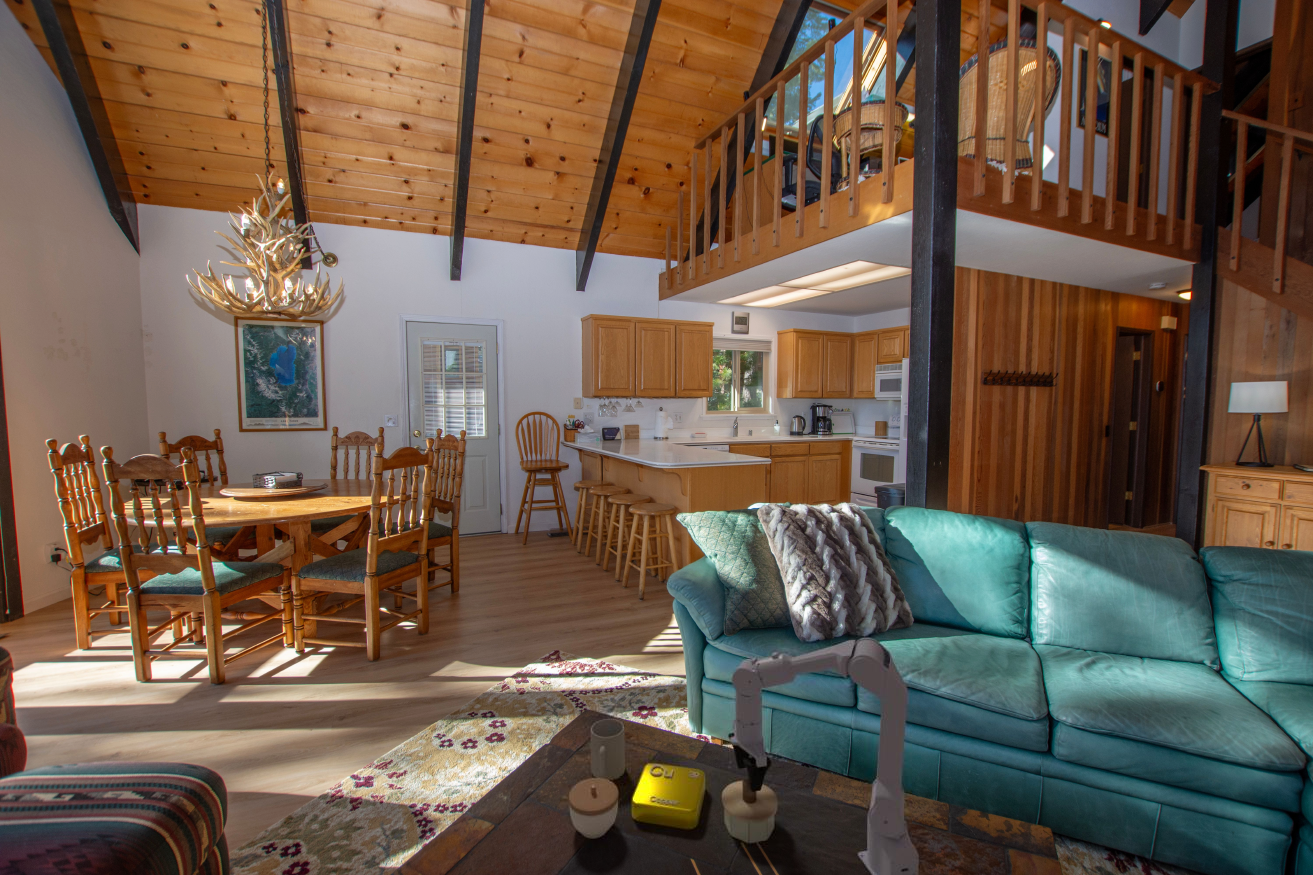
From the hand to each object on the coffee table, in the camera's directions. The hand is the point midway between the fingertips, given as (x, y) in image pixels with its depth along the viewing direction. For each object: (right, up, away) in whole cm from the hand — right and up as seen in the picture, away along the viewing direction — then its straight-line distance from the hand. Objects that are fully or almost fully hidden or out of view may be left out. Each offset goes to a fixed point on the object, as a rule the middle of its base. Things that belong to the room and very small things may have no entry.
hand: (748, 778), depth 122 cm
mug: (-32, -10, +18) cm, 38 cm away
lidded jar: (-34, -11, 0) cm, 35 cm away
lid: (0, -5, 0) cm, 5 cm away
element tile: (-17, -11, +8) cm, 22 cm away
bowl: (0, -10, +1) cm, 10 cm away
